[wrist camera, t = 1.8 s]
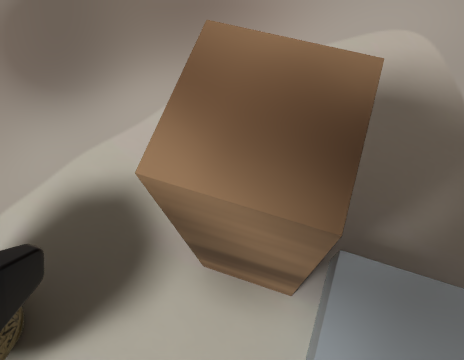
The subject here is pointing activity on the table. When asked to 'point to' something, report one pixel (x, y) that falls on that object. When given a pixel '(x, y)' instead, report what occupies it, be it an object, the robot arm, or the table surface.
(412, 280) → the slate block
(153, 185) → the walnut pillar
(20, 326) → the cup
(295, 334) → the table surface
